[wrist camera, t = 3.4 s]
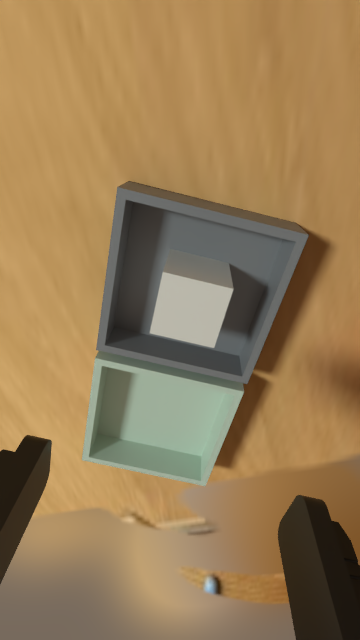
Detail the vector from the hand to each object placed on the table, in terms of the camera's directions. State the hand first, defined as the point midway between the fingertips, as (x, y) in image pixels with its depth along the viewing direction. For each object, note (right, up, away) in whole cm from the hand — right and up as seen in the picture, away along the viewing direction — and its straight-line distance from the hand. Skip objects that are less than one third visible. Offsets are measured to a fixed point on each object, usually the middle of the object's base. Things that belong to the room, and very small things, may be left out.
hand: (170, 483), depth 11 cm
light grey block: (+1, +8, +15) cm, 18 cm away
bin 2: (-2, -3, +22) cm, 22 cm away
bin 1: (+1, +8, +16) cm, 18 cm away
